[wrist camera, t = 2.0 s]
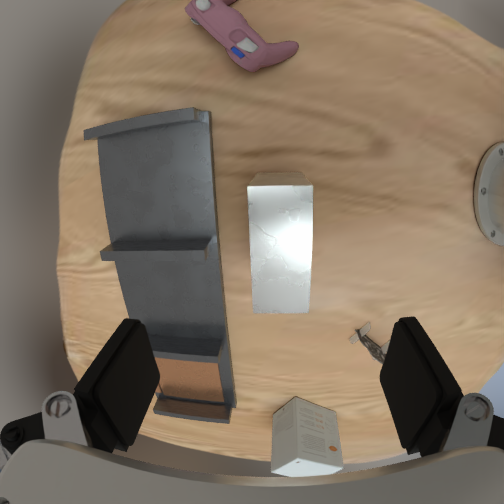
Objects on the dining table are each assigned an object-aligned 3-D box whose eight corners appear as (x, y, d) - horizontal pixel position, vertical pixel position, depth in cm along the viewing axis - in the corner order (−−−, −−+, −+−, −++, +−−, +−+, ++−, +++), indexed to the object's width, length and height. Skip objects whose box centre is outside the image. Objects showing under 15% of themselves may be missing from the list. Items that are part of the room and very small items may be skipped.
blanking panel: (301, 171, 25) (312, 185, 17) (300, 263, 28) (308, 312, 20) (257, 172, 25) (247, 186, 17) (260, 263, 29) (253, 313, 20)
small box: (272, 413, 37) (268, 472, 28) (295, 394, 35) (296, 458, 26) (312, 428, 38) (315, 482, 29) (336, 411, 36) (344, 468, 27)
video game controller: (210, 15, 21) (165, 10, 16) (240, -14, 18) (198, -28, 13) (271, 77, 23) (236, 82, 18) (306, 50, 20) (279, 44, 15)
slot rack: (210, 111, 24) (199, 106, 20) (236, 402, 37) (233, 423, 33) (102, 130, 25) (79, 131, 21) (159, 394, 38) (151, 413, 34)
